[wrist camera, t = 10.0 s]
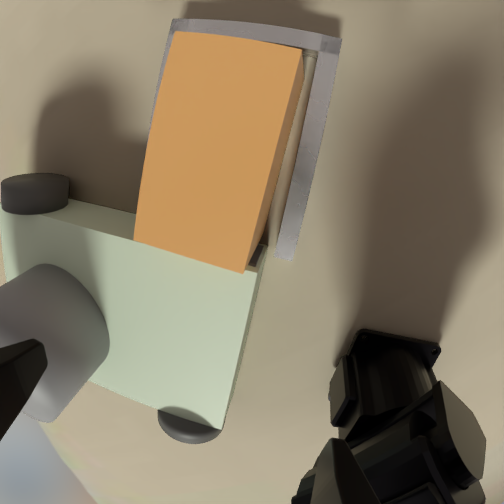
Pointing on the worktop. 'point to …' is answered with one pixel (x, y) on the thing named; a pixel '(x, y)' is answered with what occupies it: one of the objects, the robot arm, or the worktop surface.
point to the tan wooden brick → (217, 146)
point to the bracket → (316, 111)
